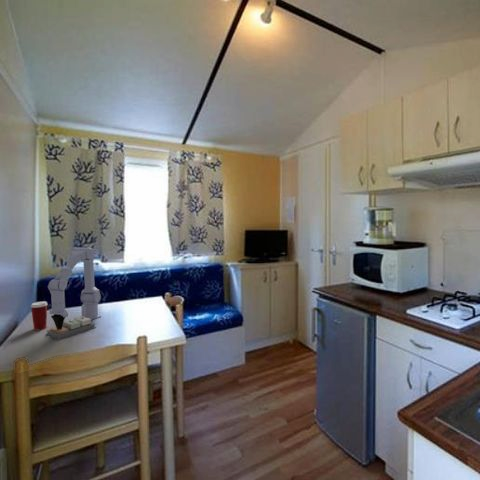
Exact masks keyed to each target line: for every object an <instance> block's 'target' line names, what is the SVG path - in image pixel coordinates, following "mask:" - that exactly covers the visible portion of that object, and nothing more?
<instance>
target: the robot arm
mask: <svg viewBox="0 0 480 480" xmlns="http://www.w3.org/2000/svg"><path fill="white" fill-rule="evenodd" d="M70 256H71V257H70V258H69V260H68V262H67V263H66V266H65V267H62V268H60V270H59V271H58V273H57V275H56V276H55V277H54V279H51V280H50V281H48V285H47V289H48V290H49V293H50V295H51V298H50V299H51V308H50V309H49V315H51V316H50V317H51V319H52V320H53V322H54V325H55V327H56V328H57V329H60V328H62V326H63V322H64V321H65V319H66V318H67V317H69V312H67V310H66V298H65V297H66V296H65V290H67V287H68V281H69V280H70V278H71V277H72V275H73V269H74V268H75V266H76V265H77V264H78V263H79V262H80V261H81V262H82V263H83V274H84V275H83V277H84V289H82V290H81V291H80V292H81V293H80V301H81V303H82V305H81V306H80V307H81V308H80V309H81V316H83V317H86V318H90V319H91V321H92V320H95V319H97V318H98V319H99V318H101V317H102V316H101V315H99V309H98V308H99V305H98V303H99V302H100V301H101V297H102V296H101V293H100V289H98V288H97V287H96V286H95V271H94V270H95V269H94V268H95V267H94V261H95V251H94V249H93V248H92V247H73V249H72V251H71V252H70Z"/></svg>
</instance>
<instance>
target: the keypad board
mask: <svg viewBox="0 0 480 480" xmlns="http://www.w3.org/2000/svg"><path fill="white" fill-rule="evenodd" d="M62 327H64V326H62ZM65 328H66V327H65ZM96 328H97V326H95V323H93V322H91V324H88V325H84V326H82V325H80V327H78V328H75V329H69V328H67V329H69V331H68V332H65V333H61V334H57V333H54V332H52V331H50V329H47V330H46V333H45V334H44V335H45V336H48V337H49V338H52V339H54V340H56V341H60V340H63V339H66V338H69V337H72V336H75V335H78V334H81V333H84V332H87V331H90V330H94V329H96Z"/></svg>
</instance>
